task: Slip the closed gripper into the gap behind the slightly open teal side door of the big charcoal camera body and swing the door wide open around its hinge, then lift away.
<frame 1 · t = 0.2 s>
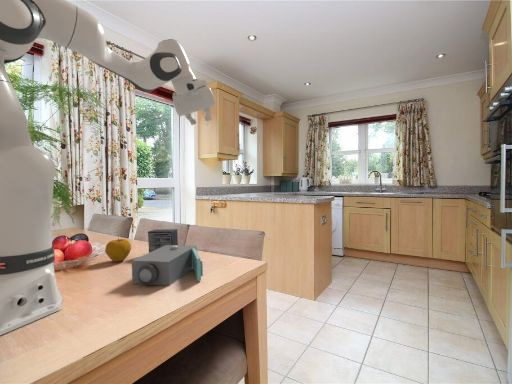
hand: (201, 122, 106), 54 cm above the table, tool tilted 30°, fingers open, 8 cm apart
side door: (197, 262, 87), point 4 cm above the table, hinge at 30.0°
camera body: (168, 273, 88), on the table
small box: (164, 255, 113), on the table
apple: (118, 261, 104), on the table
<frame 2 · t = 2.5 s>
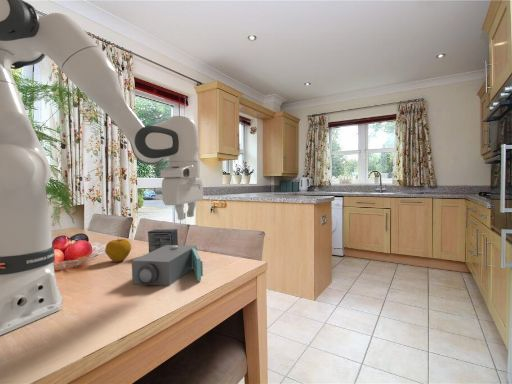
hand: (186, 218, 81), 19 cm above the table, tool pointing down, fingers open, 5 cm apart
nothing on the table moved.
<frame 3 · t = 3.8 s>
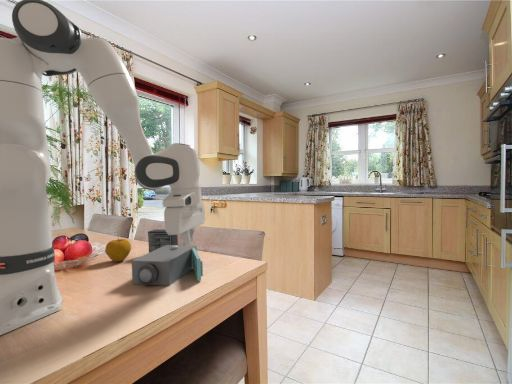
hand: (189, 243, 81), 11 cm above the table, tool pointing down, fingers closed
nothing on the table moved.
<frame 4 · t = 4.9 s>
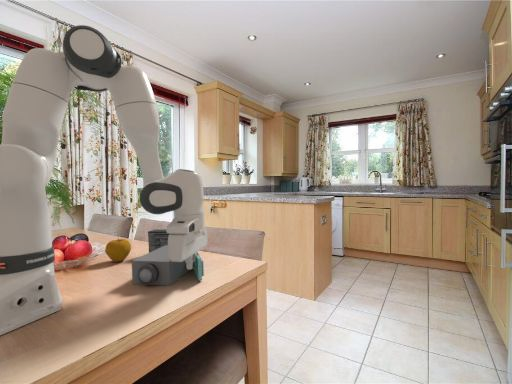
hand: (191, 268, 82), 4 cm above the table, tool pointing down, fingers closed
side door: (197, 262, 87), point 4 cm above the table, hinge at 31.2°, touching gripper
everything else where it was.
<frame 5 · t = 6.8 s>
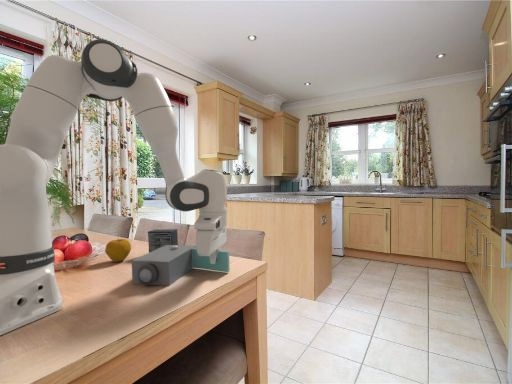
hand: (213, 262, 86), 4 cm above the table, tool pointing down, fingers closed
side door: (210, 259, 90), point 4 cm above the table, hinge at 75.8°, touching gripper
everything else where it was.
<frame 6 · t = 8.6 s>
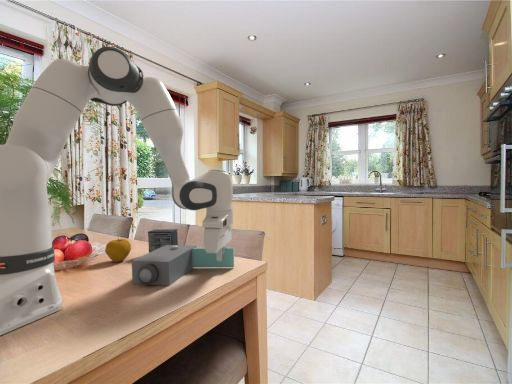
hand: (220, 259, 89), 4 cm above the table, tool pointing down, fingers closed
side door: (213, 257, 93), point 4 cm above the table, hinge at 97.0°, touching gripper
everything else where it was.
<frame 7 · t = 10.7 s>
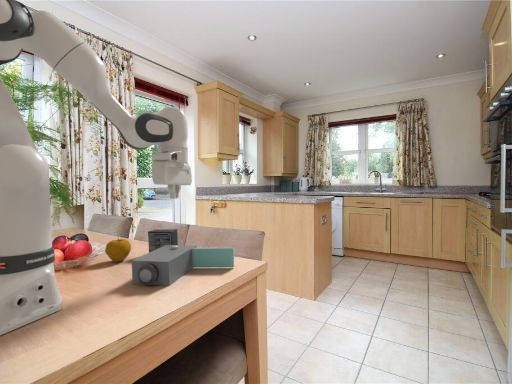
hand: (174, 198, 91), 25 cm above the table, tool pointing down, fingers closed
side door: (213, 257, 93), point 4 cm above the table, hinge at 96.8°
everything else where it was.
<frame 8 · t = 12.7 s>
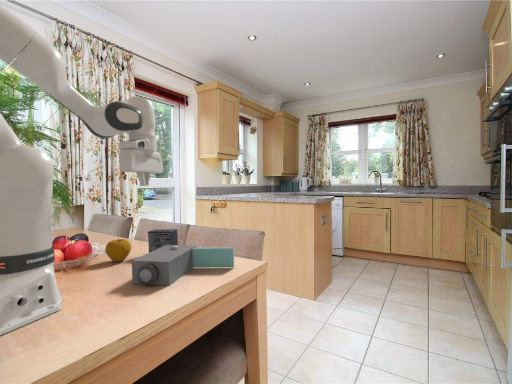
hand: (144, 186, 93), 29 cm above the table, tool pointing down, fingers closed
nothing on the table moved.
at the end: side door at +97° (first picture: +30°); small box moved 0.3 cm from its start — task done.
